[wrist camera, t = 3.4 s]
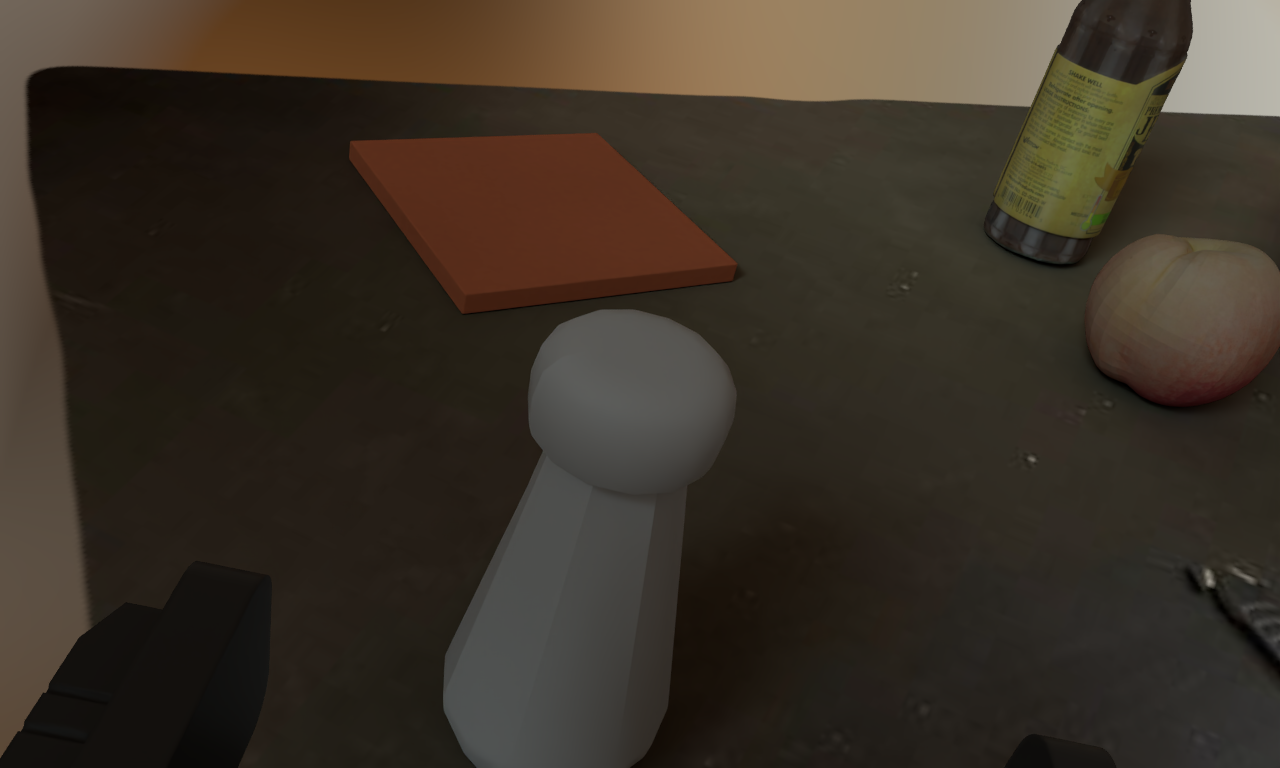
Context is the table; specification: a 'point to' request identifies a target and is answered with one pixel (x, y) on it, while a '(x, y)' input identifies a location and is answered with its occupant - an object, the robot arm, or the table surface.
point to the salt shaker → (591, 550)
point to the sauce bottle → (1088, 125)
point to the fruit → (1184, 318)
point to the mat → (535, 219)
